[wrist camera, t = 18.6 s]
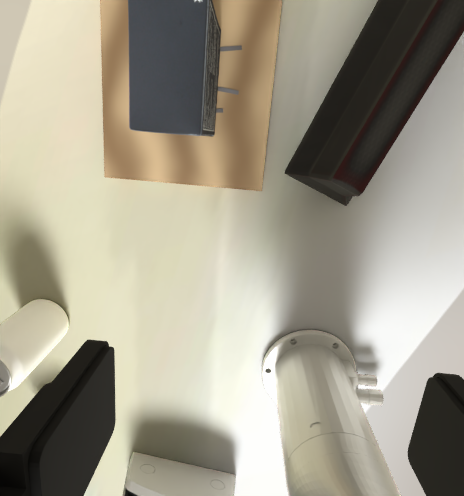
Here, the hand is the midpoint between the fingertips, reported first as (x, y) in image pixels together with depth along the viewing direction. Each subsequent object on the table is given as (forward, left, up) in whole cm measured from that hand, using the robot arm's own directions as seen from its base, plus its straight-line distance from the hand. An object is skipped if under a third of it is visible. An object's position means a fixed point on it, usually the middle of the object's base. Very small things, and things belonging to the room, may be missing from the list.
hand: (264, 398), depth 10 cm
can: (+26, +18, -33) cm, 46 cm away
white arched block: (+6, +42, -33) cm, 54 cm away
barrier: (-12, -13, -33) cm, 38 cm away
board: (+8, -13, -33) cm, 36 cm away
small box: (+8, -13, -32) cm, 35 cm away
